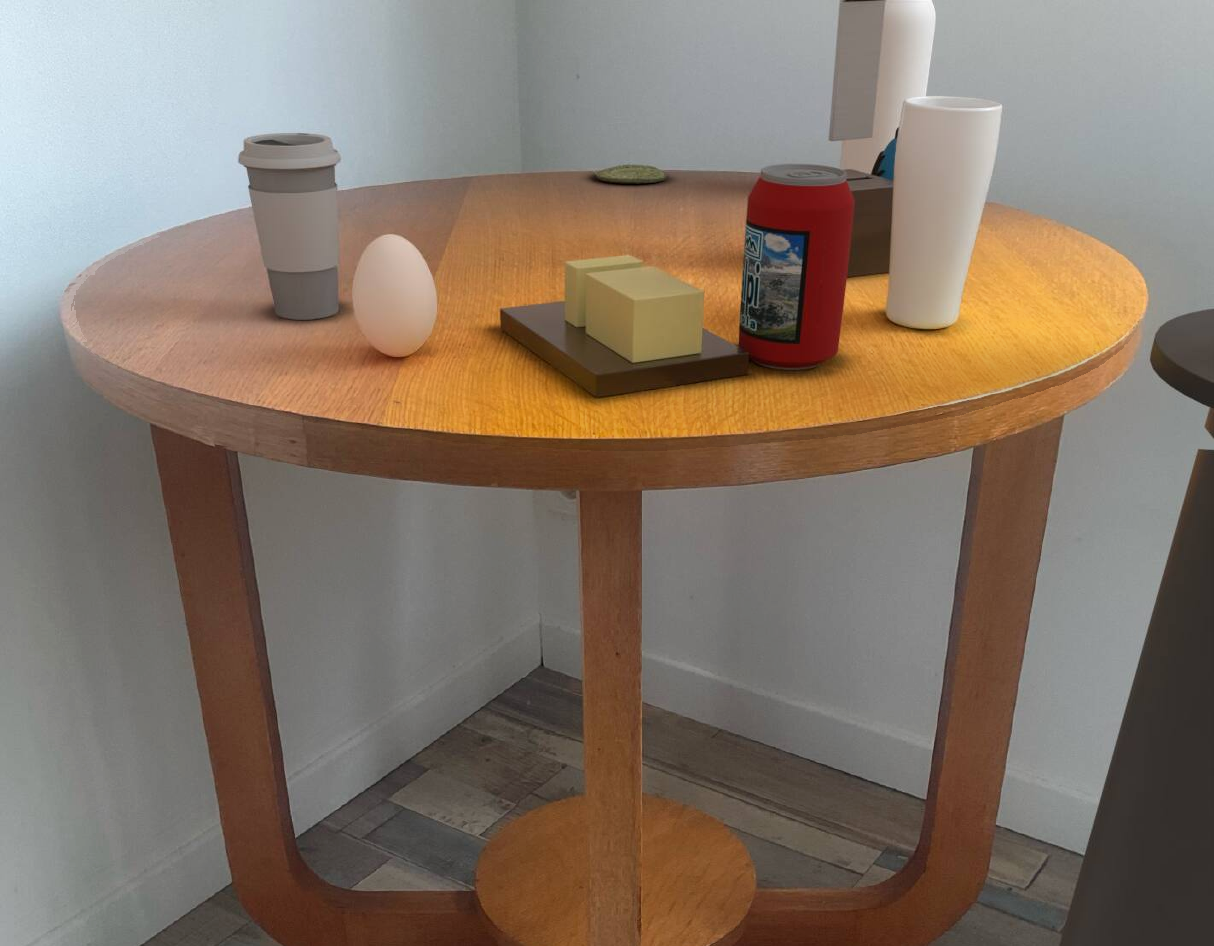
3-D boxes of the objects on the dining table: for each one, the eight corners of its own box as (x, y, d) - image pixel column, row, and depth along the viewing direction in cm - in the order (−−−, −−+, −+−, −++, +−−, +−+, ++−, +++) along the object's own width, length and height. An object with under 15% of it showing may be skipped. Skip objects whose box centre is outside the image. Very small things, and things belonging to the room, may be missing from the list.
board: (748, 374, 79) (749, 352, 78) (596, 398, 74) (596, 374, 74) (636, 311, 91) (636, 291, 90) (500, 328, 87) (499, 308, 86)
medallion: (676, 174, 139) (676, 168, 139) (648, 186, 133) (649, 179, 133) (613, 168, 142) (613, 162, 142) (583, 179, 136) (583, 172, 136)
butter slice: (641, 319, 84) (643, 260, 82) (576, 327, 82) (576, 268, 80) (628, 312, 86) (629, 254, 83) (564, 320, 84) (564, 261, 82)
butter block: (701, 353, 78) (705, 290, 75) (632, 363, 76) (634, 299, 74) (651, 324, 83) (652, 265, 81) (585, 333, 81) (585, 273, 79)
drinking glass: (864, 326, 88) (891, 104, 81) (887, 304, 94) (914, 93, 86) (957, 339, 86) (994, 111, 78) (975, 315, 91) (1012, 99, 83)
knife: (878, 138, 98) (901, -91, 90) (837, 142, 97) (857, -91, 88) (862, 135, 100) (883, -91, 92) (822, 139, 98) (839, -91, 90)
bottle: (867, 205, 126) (907, -135, 111) (821, 191, 132) (853, -133, 117) (927, 198, 130) (974, -133, 114) (880, 185, 136) (918, -131, 120)
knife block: (897, 271, 102) (909, 184, 99) (829, 279, 100) (838, 191, 96) (842, 250, 109) (851, 168, 105) (776, 258, 106) (783, 174, 102)
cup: (368, 302, 92) (353, 134, 86) (335, 327, 87) (316, 149, 81) (281, 296, 93) (260, 130, 87) (242, 320, 88) (217, 144, 82)
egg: (391, 374, 78) (380, 248, 74) (341, 355, 81) (328, 233, 77) (456, 356, 81) (450, 235, 77) (406, 338, 85) (397, 221, 81)
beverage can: (720, 349, 83) (730, 165, 77) (805, 339, 85) (822, 159, 79) (766, 379, 78) (782, 184, 72) (856, 368, 80) (879, 177, 74)
